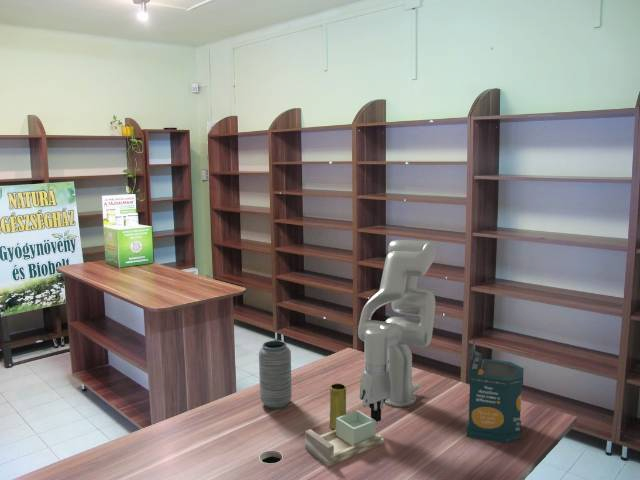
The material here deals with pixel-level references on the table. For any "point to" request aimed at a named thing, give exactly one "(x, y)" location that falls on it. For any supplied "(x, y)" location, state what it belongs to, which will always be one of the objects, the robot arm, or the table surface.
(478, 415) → the donation box
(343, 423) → the box
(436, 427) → the table surface
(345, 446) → the cream rectangular tray
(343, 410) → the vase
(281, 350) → the vase
